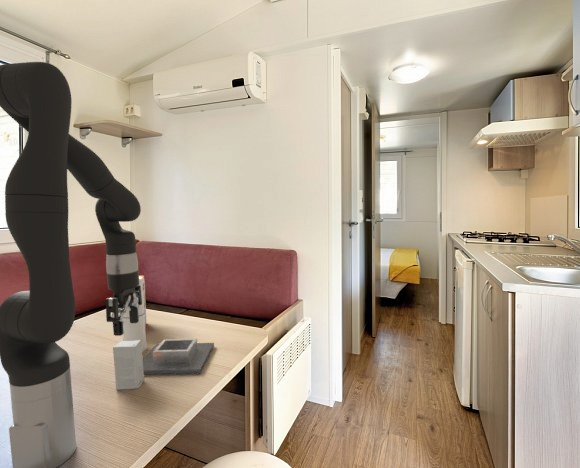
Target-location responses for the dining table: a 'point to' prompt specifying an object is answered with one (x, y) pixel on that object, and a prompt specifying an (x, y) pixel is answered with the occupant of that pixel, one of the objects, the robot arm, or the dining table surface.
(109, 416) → the dining table surface
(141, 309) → the cylindrical container
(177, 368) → the duct plate
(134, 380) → the skincare box
